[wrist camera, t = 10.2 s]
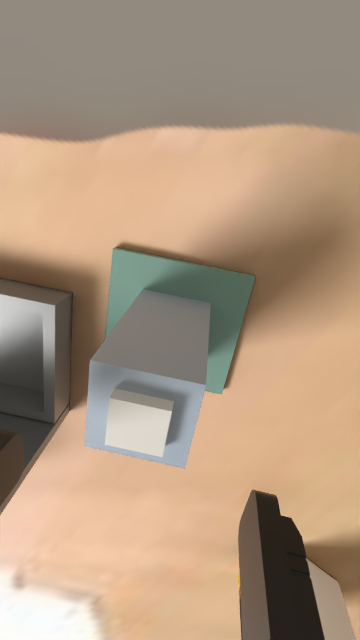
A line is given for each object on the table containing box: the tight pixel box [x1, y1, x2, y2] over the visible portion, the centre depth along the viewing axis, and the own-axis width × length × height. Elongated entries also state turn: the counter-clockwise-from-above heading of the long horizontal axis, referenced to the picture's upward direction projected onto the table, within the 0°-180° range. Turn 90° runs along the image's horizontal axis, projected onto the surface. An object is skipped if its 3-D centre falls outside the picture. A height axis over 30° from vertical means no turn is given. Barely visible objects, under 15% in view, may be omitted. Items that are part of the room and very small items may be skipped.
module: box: [85, 289, 211, 469], centre depth 16 cm, size 4×4×10 cm
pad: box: [105, 247, 255, 394], centre depth 21 cm, size 9×9×1 cm
